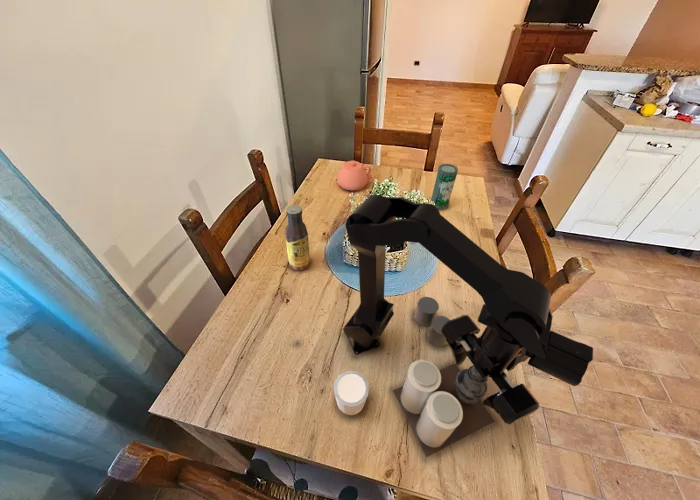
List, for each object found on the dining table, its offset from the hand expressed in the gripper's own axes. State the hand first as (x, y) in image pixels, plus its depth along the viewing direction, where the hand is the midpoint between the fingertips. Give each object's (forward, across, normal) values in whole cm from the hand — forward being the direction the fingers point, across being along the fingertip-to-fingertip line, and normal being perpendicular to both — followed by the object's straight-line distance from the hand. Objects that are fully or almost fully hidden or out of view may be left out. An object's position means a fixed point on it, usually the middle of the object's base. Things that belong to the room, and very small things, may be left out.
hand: (471, 382), depth 61 cm
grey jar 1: (+6, +19, -3) cm, 21 cm away
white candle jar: (+7, +8, +22) cm, 25 cm away
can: (+7, +60, -35) cm, 69 cm away
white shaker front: (+6, -3, +10) cm, 12 cm away
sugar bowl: (+7, +84, -10) cm, 85 cm away
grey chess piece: (+4, 0, 0) cm, 4 cm away
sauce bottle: (+7, +50, +21) cm, 55 cm away
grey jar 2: (+6, +13, -3) cm, 15 cm away
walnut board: (+6, 0, +5) cm, 8 cm away
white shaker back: (+6, +3, +10) cm, 12 cm away
